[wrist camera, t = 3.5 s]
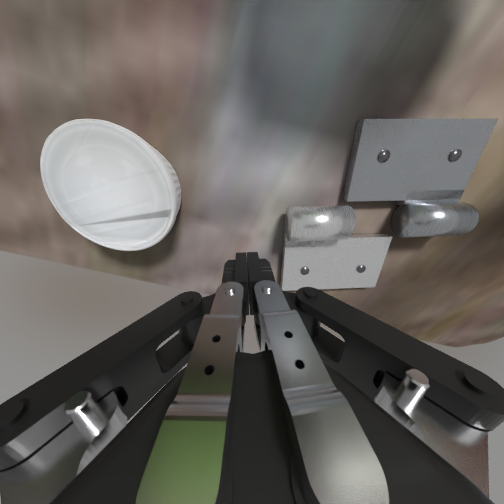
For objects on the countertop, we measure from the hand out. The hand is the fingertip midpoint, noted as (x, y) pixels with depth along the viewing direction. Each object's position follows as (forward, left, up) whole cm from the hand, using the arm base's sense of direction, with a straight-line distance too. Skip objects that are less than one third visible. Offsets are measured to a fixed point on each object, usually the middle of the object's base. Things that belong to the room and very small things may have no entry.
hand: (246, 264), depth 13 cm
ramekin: (+12, -4, -12) cm, 17 cm away
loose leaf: (-12, +4, -11) cm, 17 cm away
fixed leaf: (-19, -4, -11) cm, 23 cm away
